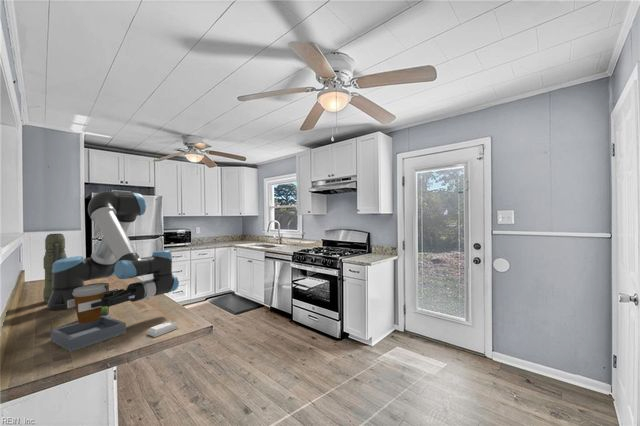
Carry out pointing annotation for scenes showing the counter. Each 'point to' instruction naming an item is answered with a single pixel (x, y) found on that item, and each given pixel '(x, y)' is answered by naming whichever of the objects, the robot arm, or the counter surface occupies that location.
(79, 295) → the disposable coffee cup
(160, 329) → the white light switch
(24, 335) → the counter surface
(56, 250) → the thermos
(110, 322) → the square open box
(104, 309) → the coffee can
